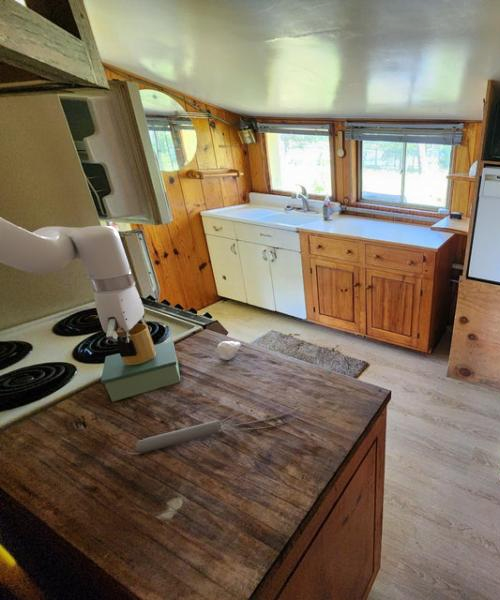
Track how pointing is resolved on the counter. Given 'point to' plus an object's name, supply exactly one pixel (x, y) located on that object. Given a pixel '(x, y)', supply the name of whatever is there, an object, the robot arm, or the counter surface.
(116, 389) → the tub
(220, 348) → the garlic bulb
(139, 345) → the cup
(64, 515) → the counter surface
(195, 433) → the kitchen whisk
